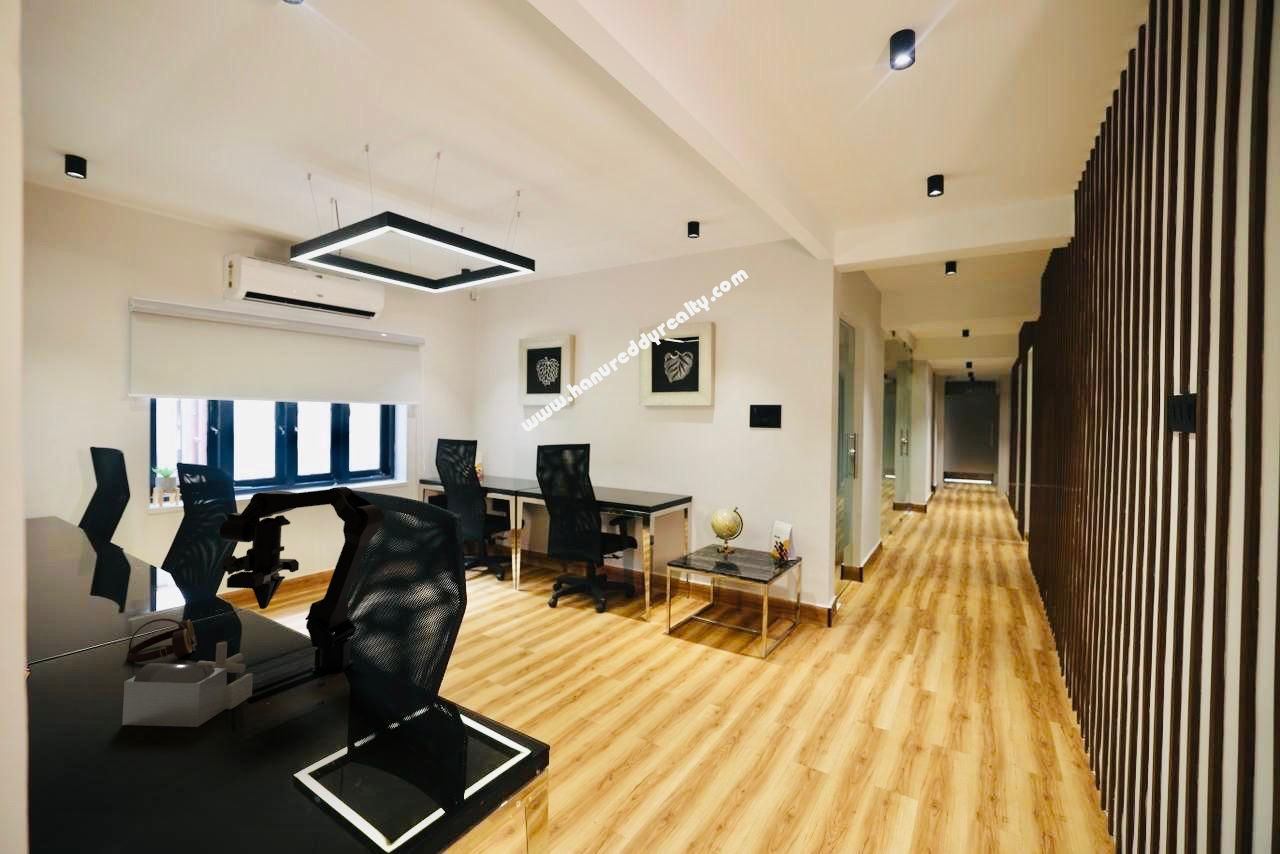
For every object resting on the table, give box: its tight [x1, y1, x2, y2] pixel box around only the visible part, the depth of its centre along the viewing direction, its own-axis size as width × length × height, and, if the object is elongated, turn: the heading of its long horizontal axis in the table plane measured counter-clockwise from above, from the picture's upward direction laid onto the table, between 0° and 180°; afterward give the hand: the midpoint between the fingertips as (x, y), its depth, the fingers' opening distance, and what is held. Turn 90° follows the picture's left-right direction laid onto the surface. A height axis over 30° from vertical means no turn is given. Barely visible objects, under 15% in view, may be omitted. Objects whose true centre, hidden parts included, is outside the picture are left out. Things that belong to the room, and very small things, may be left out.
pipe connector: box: [196, 641, 247, 674], centre depth 120 cm, size 10×10×10 cm
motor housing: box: [121, 662, 254, 728], centre depth 111 cm, size 17×13×10 cm
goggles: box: [126, 617, 198, 663], centre depth 138 cm, size 15×13×10 cm
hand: (263, 608), depth 135 cm, fingers closed
